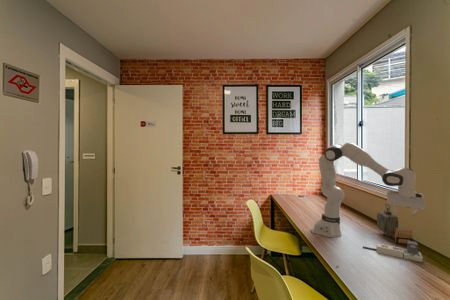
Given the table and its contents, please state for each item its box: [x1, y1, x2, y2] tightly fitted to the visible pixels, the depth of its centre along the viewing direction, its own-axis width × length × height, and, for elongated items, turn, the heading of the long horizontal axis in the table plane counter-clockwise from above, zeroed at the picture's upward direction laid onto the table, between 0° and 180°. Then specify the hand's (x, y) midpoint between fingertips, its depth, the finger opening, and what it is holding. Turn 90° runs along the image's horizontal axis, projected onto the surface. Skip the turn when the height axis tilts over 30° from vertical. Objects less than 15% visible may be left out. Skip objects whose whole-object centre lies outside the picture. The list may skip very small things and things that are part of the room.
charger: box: [406, 240, 419, 256], centre depth 148 cm, size 5×5×9 cm
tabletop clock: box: [376, 203, 399, 240], centre depth 182 cm, size 14×9×25 cm, turn 168°
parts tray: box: [402, 248, 424, 263], centre depth 148 cm, size 9×9×3 cm
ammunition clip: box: [394, 227, 414, 246], centre depth 167 cm, size 11×2×12 cm, turn 75°
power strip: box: [362, 242, 404, 259], centre depth 155 cm, size 22×6×5 cm, turn 58°
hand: (404, 213), depth 152 cm, fingers open, 8 cm apart
